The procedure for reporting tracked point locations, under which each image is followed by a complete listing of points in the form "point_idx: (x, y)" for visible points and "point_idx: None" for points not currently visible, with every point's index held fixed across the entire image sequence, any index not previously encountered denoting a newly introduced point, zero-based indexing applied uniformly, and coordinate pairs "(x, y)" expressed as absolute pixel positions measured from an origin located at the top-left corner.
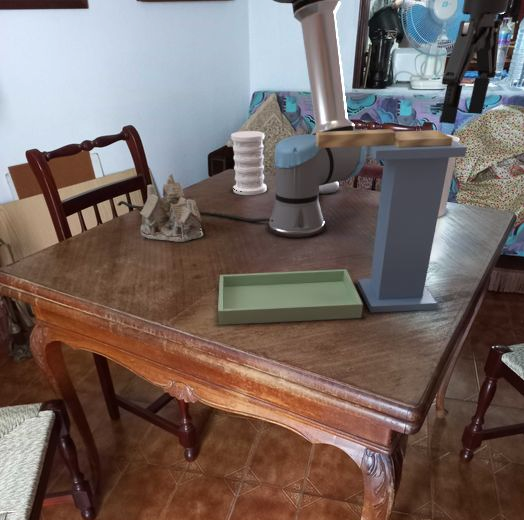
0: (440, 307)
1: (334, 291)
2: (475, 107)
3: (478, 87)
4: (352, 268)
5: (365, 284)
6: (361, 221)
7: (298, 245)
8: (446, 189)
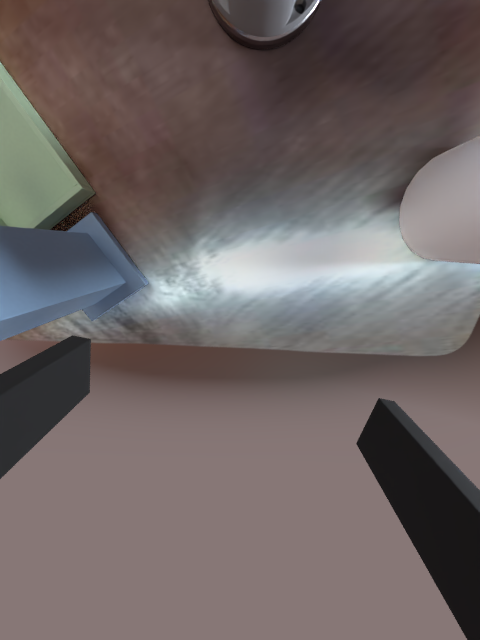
0: (105, 322)
1: (51, 191)
2: (380, 441)
3: (462, 547)
4: (142, 185)
5: (82, 228)
6: (355, 114)
7: (179, 33)
8: (465, 260)
